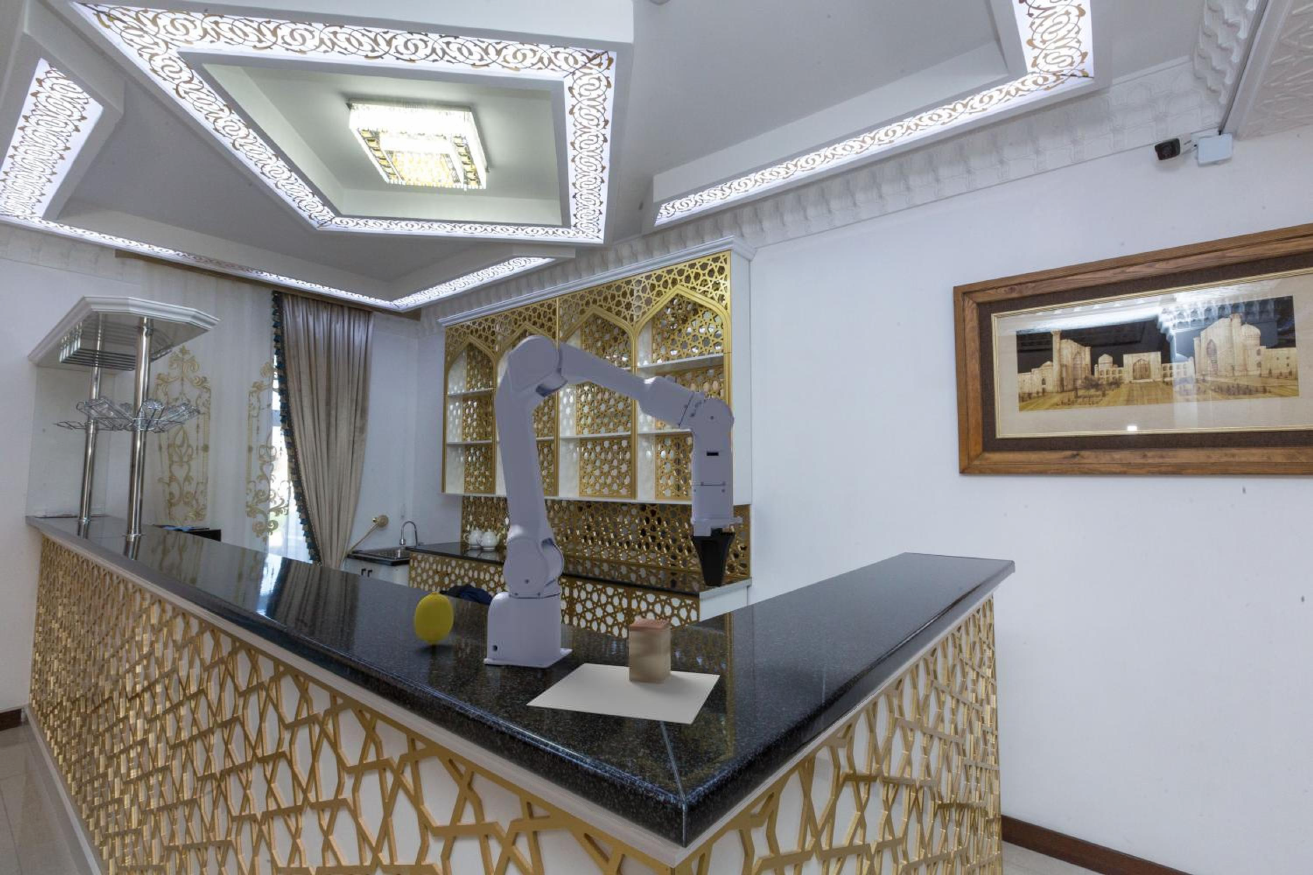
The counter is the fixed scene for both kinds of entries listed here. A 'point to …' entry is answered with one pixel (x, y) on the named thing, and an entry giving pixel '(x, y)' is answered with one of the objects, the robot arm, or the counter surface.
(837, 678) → the counter surface
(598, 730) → the counter surface
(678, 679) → the grey mat
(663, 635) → the maple block
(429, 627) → the lemon
